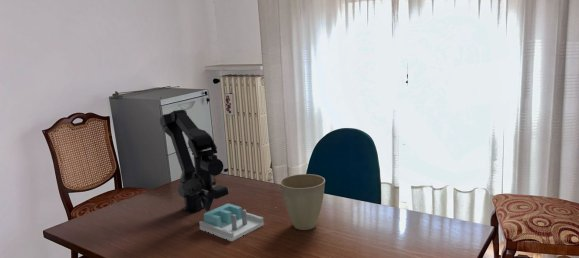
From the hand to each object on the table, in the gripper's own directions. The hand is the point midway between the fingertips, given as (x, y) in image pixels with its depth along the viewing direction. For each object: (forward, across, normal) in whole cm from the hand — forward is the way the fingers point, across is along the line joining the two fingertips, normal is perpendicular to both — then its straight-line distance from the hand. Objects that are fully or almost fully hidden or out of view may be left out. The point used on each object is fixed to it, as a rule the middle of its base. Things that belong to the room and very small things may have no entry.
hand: (207, 210), depth 163 cm
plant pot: (+3, +33, +15) cm, 36 cm away
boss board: (+3, +13, 0) cm, 13 cm away
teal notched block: (+2, +9, 0) cm, 9 cm away
